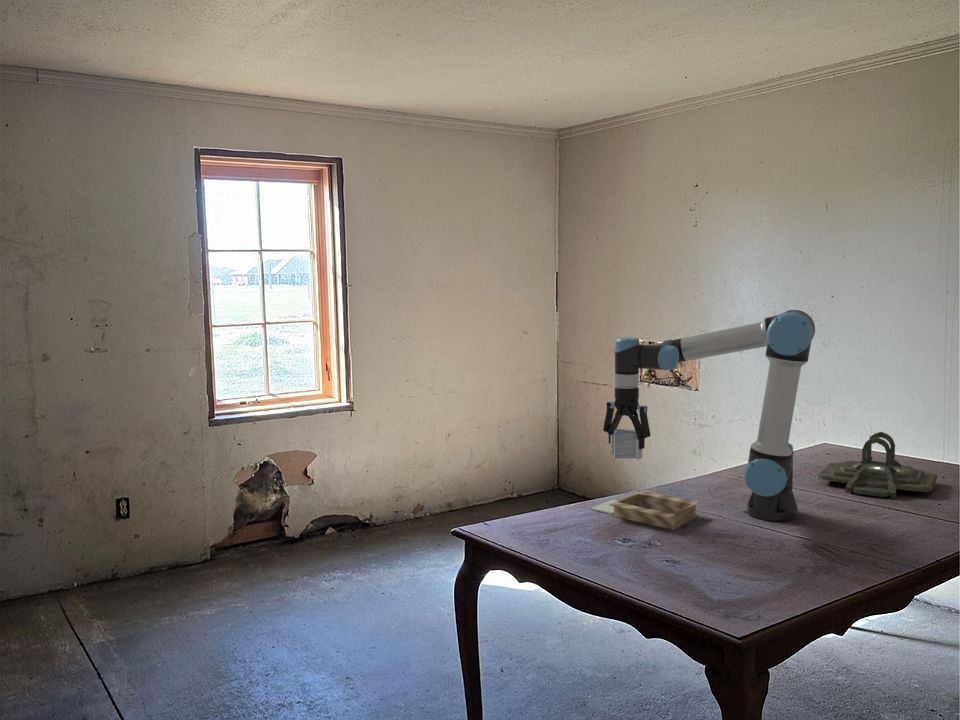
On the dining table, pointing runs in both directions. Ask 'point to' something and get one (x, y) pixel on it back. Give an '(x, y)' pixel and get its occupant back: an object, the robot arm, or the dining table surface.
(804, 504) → the dining table surface
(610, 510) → the mat
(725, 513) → the dining table surface
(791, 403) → the robot arm
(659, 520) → the wooden tray
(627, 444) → the medicine box
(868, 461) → the olive flat handled piece
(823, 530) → the dining table surface
